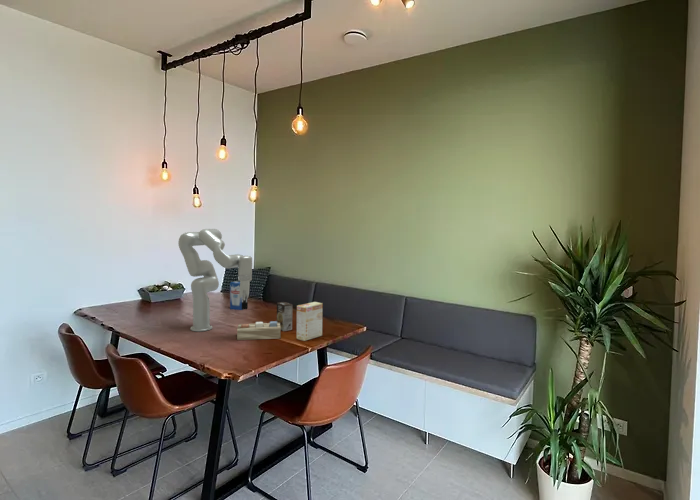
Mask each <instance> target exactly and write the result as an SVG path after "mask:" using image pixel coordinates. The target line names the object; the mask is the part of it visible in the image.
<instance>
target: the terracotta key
mask: <svg viewBox="0 0 700 500" xmlns="http://www.w3.org/2000/svg"><path fill="white" fill-rule="evenodd" d="M241 324H242V325H241V328H249V324H250V323H241Z"/></svg>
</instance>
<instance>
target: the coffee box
mask: <svg viewBox="0 0 700 500" xmlns="http://www.w3.org/2000/svg"><path fill="white" fill-rule="evenodd" d="M276 321H277V323H280V328H281V331H282V332H287V331H291V330H293V304H292V303H289V302H286V301H281V302H280V301H279V302H276Z"/></svg>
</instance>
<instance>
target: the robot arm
mask: <svg viewBox="0 0 700 500" xmlns="http://www.w3.org/2000/svg"><path fill="white" fill-rule="evenodd" d="M222 237H223V235H222V232H221V231H220V230H219V229H217V228H205V229H202V230H200V231H188V232H184V233H182V234H181V235H180V237H179V238H178V247H179V250H180V252H181V254H182V257H183V258H184V262H185V265H186V269H187V271H188V273H189V276H191V277H193V278H194V277H197V278H195V279H194V280H192V282H191V284H190V290H191V293H192V316H193V317H192V326H190V329H189V330H190V331H193V332H207V331H210V330H212V329H213V326H212V324H210V320H211V319H210V314H211V313H210V309H211V308H210V307H211V305H210V304H211V303H210V297H209V296H208V294H207V293H210V292H214V291H216V290H218V288H219V285H220V284H219V283H220V282H219V281H220V280H219V278H218V276H217V272H216V269H215V267H214V265H213V263H212V262H211V261H210V260H207V259H204V260H202V259H200V256H199V253H198V251H197V250H196V249H195V247H196V246H206V247H207V249H209V250H210V251H211V252H212V255H213V258H214V260H215V262H216V263H217V264H218V265H220V267H222V268H225V269H227V270H228V269H234V268H237V269H238V270H237V271H238V275H237V276H238V277H237V278H238V279H237V280H238V282H240V296H239V297H240V298H241V297H242V309H243V310H248V308H249V307H248V304H249V303H248V298H249V295H250V287H251V286H250V284H251V283H250V282H251V281H252V280H253V258H252V257H251V255H242V254H239V253H237V254H229V255H228V254H226V253H225V252H224V248H225V245H226V244H225V242H224V241H223V240H222V239H223V238H222Z"/></svg>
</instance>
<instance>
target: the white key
mask: <svg viewBox="0 0 700 500" xmlns="http://www.w3.org/2000/svg"><path fill="white" fill-rule="evenodd" d="M263 323H264V322H263V321H255V324H256V327H263Z"/></svg>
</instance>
